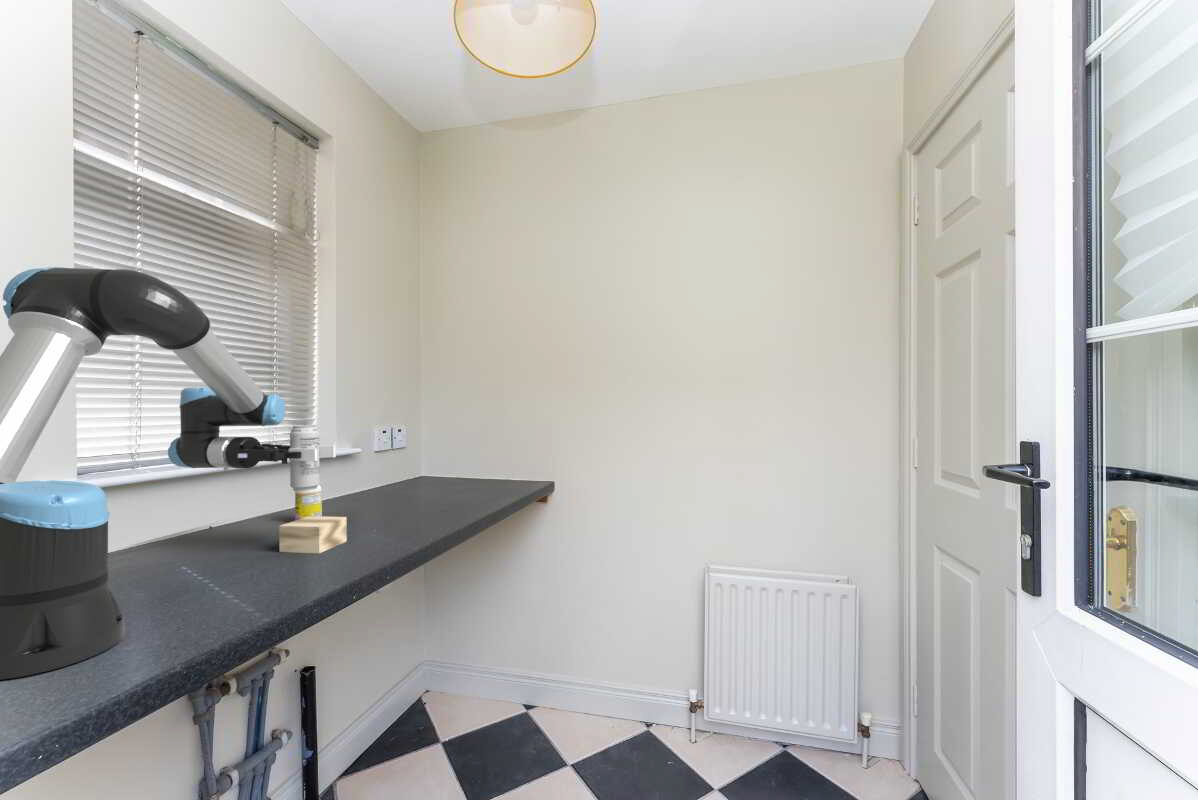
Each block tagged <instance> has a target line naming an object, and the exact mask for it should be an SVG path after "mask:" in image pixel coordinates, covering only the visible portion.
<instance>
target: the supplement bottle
mask: <svg viewBox="0 0 1198 800" xmlns="http://www.w3.org/2000/svg"><path fill="white" fill-rule="evenodd" d="M322 490H323V489H322V486H321V485H320V484H319V485H318V486H317V489H314V490H308V491H294V496H295V497H294V506H295V507H294V508H295V509H294V510H295V514H294V515H295V516H294V517H295V518H294V519H295V521H296V520H299V519H302V518H305V517H308V516H323V503H322V502H323V499H322V497H323V496H322Z"/></svg>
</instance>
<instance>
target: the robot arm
mask: <svg viewBox="0 0 1198 800" xmlns="http://www.w3.org/2000/svg"><path fill="white" fill-rule="evenodd" d="M3 290H4V291H3V294H2V301H5V302H6V304H5V305H4V304H3V305H2V308H3V309H2V310H3V311H4V314H5V316H6V318H7V325H8V327H9V330H11V332H12V333H13V334H14V335H13V336H12V337H11V339H10V340H9V342H8V344H7V345H6V347H5V349H4V350H3V351H2V353H1V354H0V680H8V679H16V678H21V677H22V678H23V677H27V676H28V677H29V676H31V675H37V674H41V673H45V672H49V671H52V670H56V669H60V668H64V667H68V666H69V665H70V666H71V665H72V664H76V663H79V662H81V661H85V660H87V659H90V658H92V657H95V656H97V655H100V654H101V653H103V652H105V651H107V650H109V649H111V648H113V647H114V646H116V645H117V644H119V643H120V642H121V641H122V640H123V639H124V637H126V636H125V635H126V621H125V617H124V615H123V614H122V612H121V609H120V607H119V605H118V603H117V601H116V599H115V597H114V594H113V593H112V591H111V588H110V586H109V520H110V511H109V510H108V501H107V494H106V492H105V491H104V490H103V489H102V488H101V487H99V486H97V485H96V484H92V483H87V482H82V481H71V480H44V481H42V480H29V481H27V480H26V481H17V479H18V476H19V474H20V473H21V471H22V469H24V468H23V467H24V466H25V465H26V462H27V460H28V459H29V457H30V455H31V453H32V451H33V450H34V448H35V446H36V444H37V442H38V440H39V438H40V436H41V435H42V434H43V431H44V429H45V427H46V426H47V423H48V422H49V420H50V418H51V417H52V415H53V413H54V411H55V410H56V408H57V406H58V404H59V402H60V400H61V399H62V396H63V395H64V393H65V391H66V390H67V388H68V386H69V384H70V383H71V380H72V378H73V377H74V374H75V373H76V371H77V369H78V368H79V365H80V363H81V362H82V360H83V358H84V357H90V356H94V355H96V354H98V353H99V352H100V351H101V349H102V348H103V345H104V344H105V342H106V340H107V338H108V337H109V336H137V337H138V336H139V337H143V338H147V339H150V340H152V341H153V342H154V343H156V344H157V346H158V347H160V348H162V349H164V350H167V351H172V352H173V353H174V355H176V356H177V357H178V358H179V359H180V360H181V361H182V362H183V363H184V364H185V365H186V366H187V368H189V369H190V370H191V371H192V372H193V374H195V375H196V376H197V377H198V379H200V380H201V381H202V382H203V383H204V384H205V385H206V386H207V387H185V388H183V389H182V390H181V391H180V402H179V403H180V404H179V409H180V410H179V411H180V413H179V414H180V416H179V417H180V434H179V437H176V438H174V439H173V440H172V441H171V443H170V445H169V447H168V449H167V455H168V456H167V457H168V458H169V461H170V462H171V463H172V464H173V465H174V466H176V467H180V468H181V467H182V468H188V469H189V468H190V469H214V468H215V469H223V470H224V471H229V469H251V468H254V467H255V466H257V465H258V464H259V462H274V463H276V462H279V461H281V464H282V465H285V464H286V465H287V464H288V462H289V461H317V449H290V444H289V445H288V444H271V443H262V444H261V443H260V441H259V440H258V439H257V438H256V437H252V436H220V433H221V432H220V427H259V426H260V427H266V426H268V427H269V426H276V425H277V426H278V425H280V424H281V423H282V422H283V420H284V419H285V415H286V404H285V401H284V399H283V398H282V397H281V396H280V395H277V394H271V393H270V394H265V393H264V391H263V390H261V388H260V387H259V386H258V384H257V383H256V382H255V381H254V380H253V379H252V377H251V376H250V375H249V374H248V373H247V371H246V370H245V368H243V366H241V364H240V363H239V362H238V361H237V359H236V358H234V355H232V354H231V352H230V350H228V348H226V347H225V345H224V344H223V343H222V342H221V341H220V340H219V338H218V337H217V336H216V335H215V334H214V332H213V331H212V330H211V327H212V326H211V321H210V319H209V317H208V316H207V315H206V314H205V313H204V311H203V310H202V309H201V308H200V307H199V306H198V304H196V303H195V302H194V301H193V300H191V299H190V298H189V297H188V296H187V295H185V294H184V293H183V292H181V291H180V290H178V289H177V288H176V287H173V286H172V285H170V284H169V283H167V282H165V281H163V280H161V279H159V278H157V277H155V276H154V275H151V274H147V273H145V272H141V271H138V270H132V269H122V268H116V269H111V268H110V269H109V268H108V269H107V268H80V267H79V268H77V267H76V268H75V267H73V268H72V267H62V266H53V267H52V266H49V267H44V268H43V267H41V268H32V269H31V268H30V269H27V270H25V271H22V272H20V273H18V274H16V275H15V276H14V277H12V278H11V279H10V280H9V282H8V283H7V284H6V286H5V288H4V289H3ZM336 456H337V455H336V445H319V458H336Z"/></svg>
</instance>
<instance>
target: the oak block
mask: <svg viewBox="0 0 1198 800" xmlns="http://www.w3.org/2000/svg"><path fill="white" fill-rule="evenodd" d="M347 521H348V520H347V516H324V515H322V516H308V517H305V518H302V519H299V520H296V519H295V520H293V521H290V522H287V523H284V524H281V525H279V526H278V527H279V528H278V531H279V533H278V535H279V536H278V537H279V540H278V541H279V542H278V544H279V553H296V554H299V553H300V554H321V553H323V552H325V551H329V550H330V549H333V548H336V547H337V546H340V545H342V544H344V543H346V542H347V540H348V534H347V533H348V530H347V529H348V527H347V526H348V524H347Z"/></svg>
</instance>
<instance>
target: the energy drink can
mask: <svg viewBox="0 0 1198 800" xmlns="http://www.w3.org/2000/svg"><path fill="white" fill-rule="evenodd" d="M289 445H290V449H317V461H290V462H289V467H290V469H289V472H290V474H289V476H290V477H289V478H290V480H289V481H290V485H289V486H290V487H291V488H292V490H293V491H294V492H295V491H308V490H314V489H317V486H318V485H320V484H321V480H320V479H321V477H320V470H321V469H320V467H321V466H320V460H321V459H320V458H321V457H319V446H320V431H319V429H318V428H317V425H316V424H301V425H298V424H297V425H293V426H292V429H291V431H290V433H289Z"/></svg>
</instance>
